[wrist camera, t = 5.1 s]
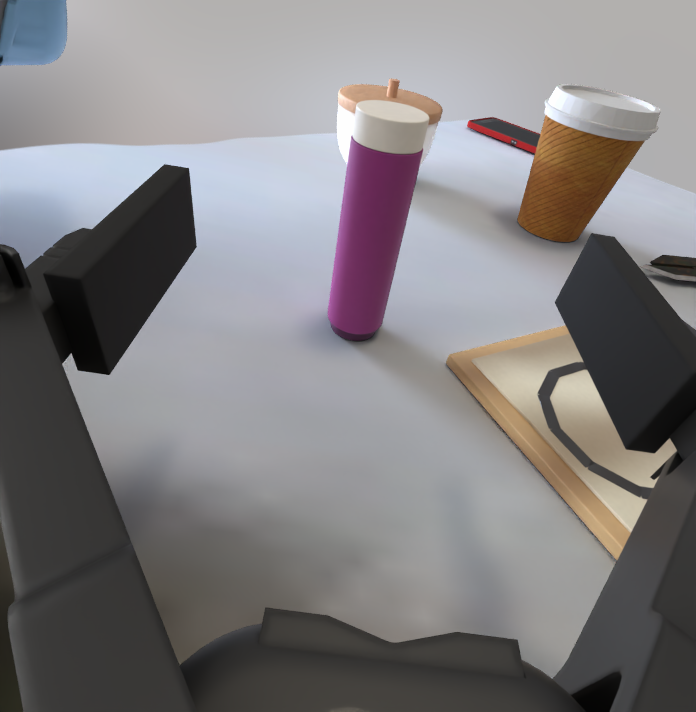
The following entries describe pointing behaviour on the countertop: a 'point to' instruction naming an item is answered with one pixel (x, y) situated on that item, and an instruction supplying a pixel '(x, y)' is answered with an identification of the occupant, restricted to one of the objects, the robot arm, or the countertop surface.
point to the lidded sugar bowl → (359, 93)
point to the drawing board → (563, 428)
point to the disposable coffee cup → (581, 157)
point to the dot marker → (374, 213)
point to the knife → (674, 267)
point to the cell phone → (506, 132)
